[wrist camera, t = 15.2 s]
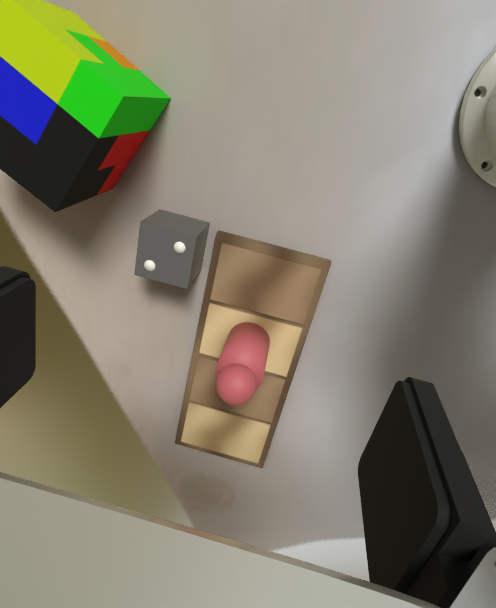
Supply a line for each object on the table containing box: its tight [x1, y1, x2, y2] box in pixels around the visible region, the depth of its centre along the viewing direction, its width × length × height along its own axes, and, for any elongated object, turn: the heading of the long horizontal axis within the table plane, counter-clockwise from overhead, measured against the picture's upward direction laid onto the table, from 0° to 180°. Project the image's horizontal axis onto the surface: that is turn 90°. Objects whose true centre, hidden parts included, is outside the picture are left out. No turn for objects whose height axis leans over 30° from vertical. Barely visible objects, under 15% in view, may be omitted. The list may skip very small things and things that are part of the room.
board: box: [175, 231, 331, 468], centre depth 46 cm, size 11×27×1 cm, turn 167°
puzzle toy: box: [0, 0, 171, 212], centre depth 33 cm, size 10×10×10 cm
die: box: [134, 209, 210, 289], centre depth 40 cm, size 5×5×5 cm
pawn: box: [216, 322, 270, 406], centre depth 40 cm, size 4×4×9 cm
